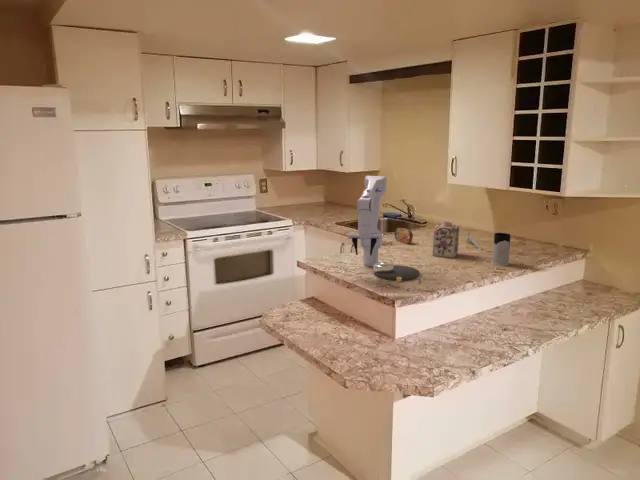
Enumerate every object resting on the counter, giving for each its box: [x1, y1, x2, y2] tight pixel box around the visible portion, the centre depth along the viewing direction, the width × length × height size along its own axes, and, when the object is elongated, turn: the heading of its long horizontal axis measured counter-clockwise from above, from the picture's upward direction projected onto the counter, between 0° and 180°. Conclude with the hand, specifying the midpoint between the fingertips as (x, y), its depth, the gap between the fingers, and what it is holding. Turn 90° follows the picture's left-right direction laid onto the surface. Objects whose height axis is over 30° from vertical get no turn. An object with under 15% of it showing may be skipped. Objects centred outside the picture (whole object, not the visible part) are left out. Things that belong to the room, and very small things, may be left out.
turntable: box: [373, 264, 420, 283], centre depth 221 cm, size 22×20×2 cm
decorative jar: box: [431, 220, 460, 259], centre depth 263 cm, size 12×12×18 cm
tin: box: [394, 227, 414, 245], centre depth 295 cm, size 15×3×8 cm, turn 27°
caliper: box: [465, 232, 482, 249], centre depth 287 cm, size 20×1×6 cm, turn 7°
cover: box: [372, 261, 395, 273], centre depth 222 cm, size 9×9×4 cm
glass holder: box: [490, 232, 512, 266], centre depth 248 cm, size 9×14×15 cm, turn 179°
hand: (363, 254), depth 222 cm, fingers open, 6 cm apart
